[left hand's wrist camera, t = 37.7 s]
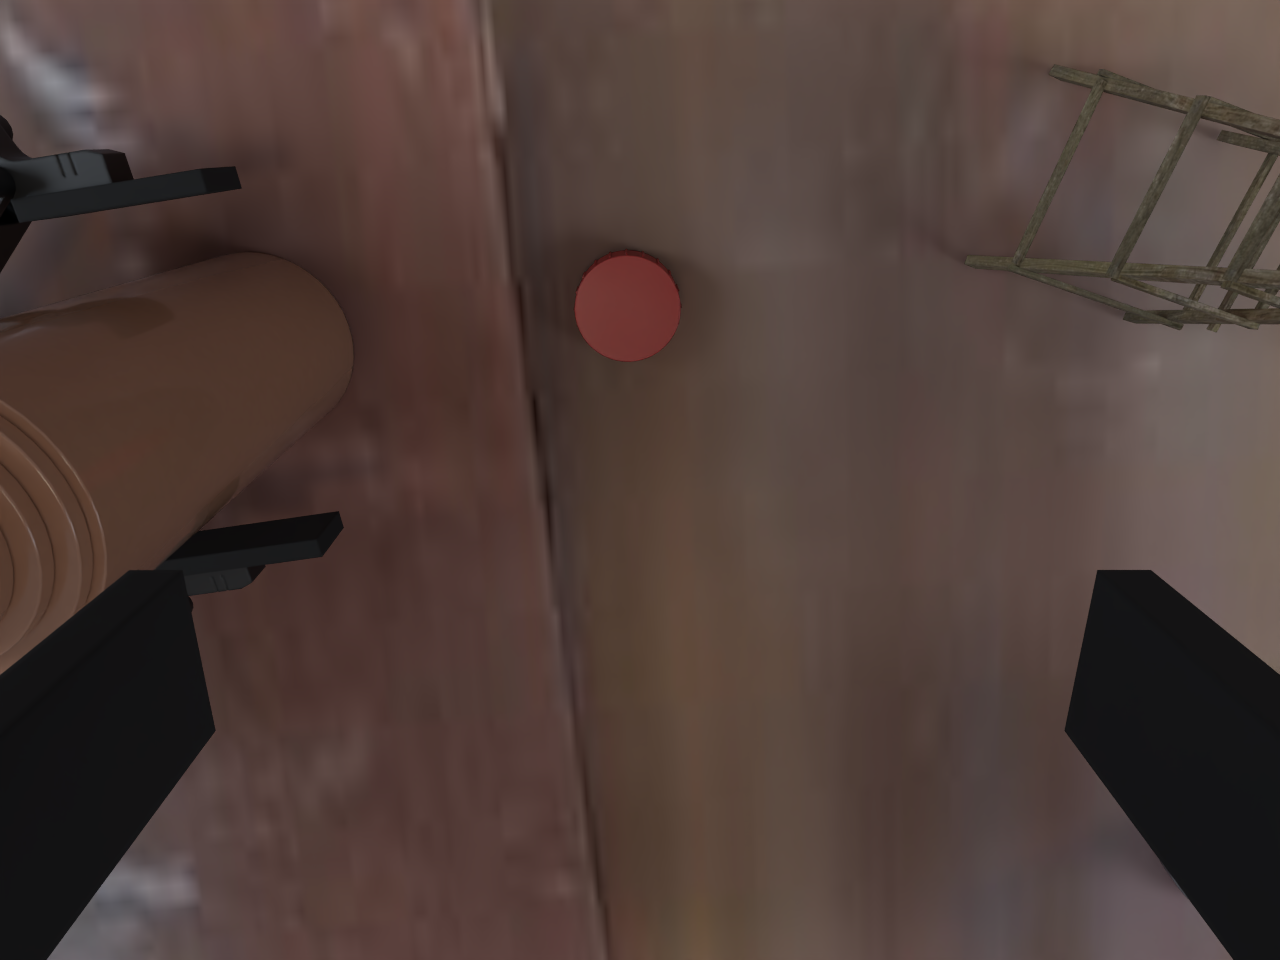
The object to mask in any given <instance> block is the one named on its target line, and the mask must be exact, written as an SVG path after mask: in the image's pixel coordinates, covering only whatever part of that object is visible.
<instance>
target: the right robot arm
mask: <svg viewBox="0 0 1280 960" xmlns="http://www.w3.org/2000/svg"><path fill="white" fill-rule="evenodd" d="M12 139H13V132H12V128H11V126H10V124H9V123H8V121H7V120H6V119H5V118H3V117H2V116H1V115H0V272H1V271H2V269H3V268H4V266H5V264H6V263H7V261H8V259H9V258H10V256H11V254H12V253H13V251H14V250H15V248H16V246H17V245H18V243H19V241H20V240H21V238H22V236H23V235H24V233H25V232H26V230H27V228H28V227H29V225H30V223H31V222H32V221H37V220H44V219H52V218H59V217H66V216H73V215H79V214H85V213H92V212H98V211H104V210H110V209H117V208H123V207H129V206H135V205H141V204H148V203H154V202H160V201H166V200H173V199H179V198H185V197H191V196H198V195H204V194H210V193H216V192H223V191H229V190H235V189H241V184H240V181H239V178H238V174H237V171H236V168H235V167H220V168H205V169H196V170H190V171H184V172H178V173H171V174H165V175H159V176H153V177H147V178H140V179H133V176H132V173H131V170H130V167H129V164H128V161H127V159H126V156H125V153H122V152H117V151H113V150H109V149H104V150H81V151H75V152H70V153H63V154H57V155H50V156H44V157H38V158H30V157H28V156H27V155H25V154H24V153H23V152H22V151H21V150H20V149H19V148H18V147H17V146H16V144H15V143H14V142H13V140H12ZM343 528H344V527H343V524H342V521H341V517H340V514H339V511H337V512H330V513H323V514H316V515H309V516H302V517H295V518H288V519H281V520H274V521H267V522H260V523H253V524H246V525H239V526H232V527H225V528H218V529H211V530H204V531H197V532H196V533H195V534H194V535H193V536H192V537H191V538H189V539H188V540H187V541H186V542H185V543H184V544H183V545H182V546H181V547H179V548H178V549H177V550H176V551H175V552H174V553H173V554H172V555H171V556H169V557H168V558H167V559H166V560H165V561H164V562H163V563H162V564H161V565H160V566H158V567H157V568H156V569H155V570H183V575H184V580H185V584H186V589H187V594H188V596H191V595H199V594H206V593H213V592H217V591H219V592H220V591H226V590H234V589H241V588H243V587H245V586H247V585H248V584H250V583H252V582H253V581H254V579H255V578H256V577H257V576H258V575H259V574H260V572H261V571H262V570H263V569H264V568H265V567H266V566H265V565H266V564H274V563H281V562H288V561H295V560H302V559H309V558H316V557H322V556H323V555H324V554H325V552H326V551H327V550H328V548H329V547H330V545H331V544H332V543H333V541H334V540H335V539H336V537H337V536H338V535H339V533H340V532H341V531H342V529H343ZM188 599H189V604H190V609H191V612H192V610H193V602H192V600H191V599H190V598H189V597H188Z"/></svg>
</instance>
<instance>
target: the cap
mask: <svg viewBox="0 0 1280 960" xmlns="http://www.w3.org/2000/svg"><path fill="white" fill-rule="evenodd" d="M678 291H679V289H678V286H677V284H676V285H675V282H674V280H673V278H672V275H671V272H670V270H667V269H666V268H665V266H664V265H663V264H662V263H660V262H659V259H658V258H657V259H655V258H654V257H652V256H650V255H648V254H645V253H644V251H642V252H638V251H632V250H627V249H625V250H624V251H617V252H613V253H611V252H609V254H607V255H605V256H603V257H602V258H600V259H599V260H595V261H594V264H593V265H591V266H590V268H589V269H588V270H587V271H586V272H584V274H583V276H582V280H581V282H580V285H579V287H577V289H576V299H575V306H574V310H575V318H576V322H577V327H578V328H579V331H580V333H581V334H582V336H583V338H584V339H585V341H586V342H587V343H588V344H589V345H590V346H591V347H592V348H593V349H594V350H595V351H597V352H598V353H600V354H601V355H603V356H605V357H607V358H610V359H613V360H617V361H624V362H631V361H639V360H643V359H646V358H648V357H650V356H652V355H654V354H656V353H657V352H659V351H660V350H661V349H663V348H664V347H665V346H666V345H667V344H668V342H669V341H670V340H671V338H672V337H673V335H674V333H675V331H676V329H677V326H678V324H679V319H680V311H681V308H682V306H681V303H680V298H679V294H678Z"/></svg>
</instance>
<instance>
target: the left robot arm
mask: <svg viewBox="0 0 1280 960" xmlns="http://www.w3.org/2000/svg"><path fill="white" fill-rule="evenodd" d="M214 732H215V726H214V721H213V716H212V711H211V706H210V702H209V697H208V692H207V687H206V682H205V677H204V672H203V667H202V662H201V658H200V653H199V648H198V643H197V638H196V633H195V628H194V623H193V619H192V614H191V609H190V604H189V599H188V594H187V589H186V584H185V580H184V575H183V570H129V571H127V572H126V573H125V574H124V575H123V576H121V577H120V578H119V579H118V580H116V581H115V582H114V583H113V584H111V585H110V586H109V587H108V588H107V589H105V590H104V591H103V592H102V593H100V594H99V595H98V596H97V597H95V598H94V599H93V600H92V601H91V602H89V603H88V604H87V605H86V606H84V607H83V608H82V609H81V610H79V611H78V612H77V613H76V614H75V615H73V616H72V617H71V618H70V619H68V620H67V621H66V622H65V623H63V624H62V625H61V626H60V627H59V628H57V629H56V630H55V631H54V632H52V633H51V634H50V635H49V636H47V637H46V638H45V639H44V640H43V641H41V642H40V643H39V644H38V645H36V646H35V647H34V648H33V649H31V650H30V651H29V652H28V653H27V654H25V655H24V656H23V657H22V658H20V659H19V660H18V661H17V662H15V663H14V664H13V665H12V666H10V667H9V668H8V669H7V670H6V671H4V672H3V673H2V674H1V675H0V960H47V958H48V957H49V956H50V954H51V953H52V952H53V950H54V949H55V948H56V946H57V945H58V943H59V942H60V941H61V939H62V938H63V937H64V935H65V934H66V933H67V931H68V930H69V929H70V927H71V926H72V924H73V923H74V922H75V920H76V919H77V918H78V916H79V915H80V914H81V912H82V911H83V910H84V908H85V907H86V905H87V904H88V903H89V901H90V900H91V899H92V897H93V896H94V895H95V893H96V892H97V891H98V889H99V888H100V887H101V885H102V884H103V882H104V881H105V880H106V878H107V877H108V876H109V874H110V873H111V872H112V870H113V869H114V868H115V866H116V865H117V863H118V862H119V861H120V859H121V858H122V857H123V855H124V854H125V853H126V851H127V850H128V849H129V847H130V846H131V844H132V843H133V842H134V840H135V839H136V838H137V836H138V835H139V834H140V832H141V831H142V830H143V828H144V827H145V826H146V824H147V823H148V821H149V820H150V819H151V817H152V816H153V815H154V813H155V812H156V811H157V809H158V808H159V807H160V805H161V804H162V802H163V801H164V800H165V798H166V797H167V796H168V794H169V793H170V792H171V790H172V789H173V788H174V786H175V785H176V783H177V782H178V781H179V779H180V778H181V777H182V775H183V774H184V773H185V771H186V770H187V769H188V767H189V766H190V765H191V763H192V762H193V760H194V759H195V758H196V756H197V755H198V754H199V752H200V751H201V750H202V748H203V747H204V746H205V744H206V743H207V741H208V740H209V739H210V737H211V736H212V735H213V733H214ZM1065 732H1066V733H1067V735H1068V736H1069V737H1070V739H1071V740H1072V741H1073V743H1074V744H1075V746H1076V747H1077V748H1078V750H1079V751H1080V752H1081V754H1082V755H1083V756H1084V758H1085V759H1086V760H1087V762H1088V763H1089V765H1090V766H1091V767H1092V769H1093V770H1094V771H1095V773H1096V774H1097V775H1098V777H1099V778H1100V779H1101V781H1102V782H1103V783H1104V785H1105V786H1106V788H1107V789H1108V790H1109V792H1110V793H1111V794H1112V796H1113V797H1114V798H1115V800H1116V801H1117V802H1118V804H1119V805H1120V807H1121V808H1122V809H1123V811H1124V812H1125V813H1126V815H1127V816H1128V817H1129V819H1130V820H1131V821H1132V823H1133V824H1134V826H1135V827H1136V828H1137V830H1138V831H1139V832H1140V834H1141V835H1142V836H1143V838H1144V839H1145V840H1146V842H1147V843H1148V844H1149V846H1150V847H1151V849H1152V850H1153V851H1154V853H1155V854H1156V855H1157V857H1158V858H1159V859H1160V862H1161V863H1162V865H1163V867H1164V868H1165V870H1166V871H1167V873H1168V874H1169V876H1170V877H1171V878H1172V880H1173V881H1174V882H1175V884H1176V885H1177V886H1178V888H1179V889H1180V890H1181V891H1182V893H1183V894H1184V895H1185V896H1186V897H1187V898H1188V899H1189V900H1190V901H1191V903H1192V904H1193V905H1194V907H1195V908H1196V910H1197V911H1198V912H1199V914H1200V915H1201V916H1202V918H1203V919H1204V920H1205V922H1206V923H1207V924H1208V926H1209V927H1210V929H1211V930H1212V931H1213V933H1214V934H1215V935H1216V937H1217V938H1218V939H1219V941H1220V942H1221V943H1222V945H1223V946H1224V948H1225V949H1226V950H1227V952H1228V953H1229V954H1230V956H1231V957H1232V958H1233V960H1280V675H1279V674H1278V673H1277V672H1276V671H1274V670H1273V669H1272V668H1271V667H1269V666H1268V665H1267V664H1266V663H1265V662H1263V661H1262V660H1261V659H1260V658H1258V657H1257V656H1256V655H1255V654H1253V653H1252V652H1251V651H1250V650H1249V649H1247V648H1246V647H1245V646H1244V645H1242V644H1241V643H1240V642H1239V641H1237V640H1236V639H1235V638H1234V637H1233V636H1231V635H1230V634H1229V633H1228V632H1226V631H1225V630H1224V629H1223V628H1221V627H1220V626H1219V625H1218V624H1217V623H1215V622H1214V621H1213V620H1212V619H1210V618H1209V617H1208V616H1207V615H1205V614H1204V613H1203V612H1202V611H1201V610H1199V609H1198V608H1197V607H1196V606H1194V605H1193V604H1192V603H1191V602H1189V601H1188V600H1187V599H1186V598H1185V597H1183V596H1182V595H1181V594H1180V593H1178V592H1177V591H1176V590H1175V589H1173V588H1172V587H1171V586H1170V585H1169V584H1167V583H1166V582H1165V581H1164V580H1162V579H1161V578H1160V577H1159V576H1157V575H1156V574H1155V573H1154V572H1153V571H1151V570H1097V575H1096V580H1095V584H1094V589H1093V594H1092V599H1091V604H1090V609H1089V614H1088V619H1087V623H1086V628H1085V633H1084V638H1083V643H1082V648H1081V653H1080V658H1079V662H1078V667H1077V672H1076V677H1075V682H1074V687H1073V692H1072V697H1071V702H1070V706H1069V711H1068V716H1067V721H1066V726H1065Z"/></svg>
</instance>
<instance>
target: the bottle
mask: <svg viewBox="0 0 1280 960" xmlns="http://www.w3.org/2000/svg"><path fill="white" fill-rule="evenodd" d="M353 361H354V352H353V342H352V336H351V332H350V329H349V326H348V323H347V320H346V318H345V316H344V314H343V312H342V310H341V308H340V306H339V305H338V303H337V301H336V300H335V299H334V297H333V296H332V295H331V293H330V292H329V291H328V290H327V289H326V288H325V287H324V286H323V285H322V284H321V283H320V282H319V281H318V280H317V279H316V278H315V277H313V276H312V275H311V274H310V273H308V272H307V271H305V270H304V269H302V268H301V267H299V266H297V265H295V264H293V263H291V262H289V261H287V260H285V259H282V258H279V257H276V256H273V255H268V254H264V253H255V252H237V253H232V254H226V255H222V256H219V257H215V258H212V259H208V260H205V261H201V262H198V263H194V264H191V265H187V266H183V267H180V268H176V269H173V270H169V271H166V272H162V273H159V274H155V275H152V276H148V277H145V278H141V279H138V280H134V281H131V282H127V283H123V284H120V285H116V286H113V287H109V288H106V289H102V290H99V291H95V292H92V293H88V294H85V295H81V296H78V297H74V298H70V299H67V300H63V301H60V302H56V303H53V304H49V305H46V306H42V307H39V308H35V309H32V310H28V311H25V312H21V313H18V314H14V315H10V316H7V317H3V318H0V675H1V674H2V673H3V672H4V671H6V670H7V669H8V668H9V667H10V666H12V665H13V664H14V663H15V662H17V661H18V660H19V659H20V658H22V657H23V656H24V655H25V654H27V653H28V652H29V651H30V650H31V649H33V648H34V647H35V646H36V645H38V644H39V643H40V642H41V641H43V640H44V639H45V638H46V637H47V636H49V635H50V634H51V633H52V632H54V631H55V630H56V629H57V628H59V627H60V626H61V625H62V624H63V623H65V622H66V621H67V620H68V619H70V618H71V617H72V616H73V615H75V614H76V613H77V612H78V611H79V610H81V609H82V608H83V607H84V606H86V605H87V604H88V603H89V602H91V601H92V600H93V599H94V598H95V597H97V596H98V595H99V594H100V593H102V592H103V591H104V590H105V589H107V588H108V587H109V586H110V585H111V584H113V583H114V582H115V581H116V580H118V579H119V578H120V577H121V576H123V575H124V574H125V573H126V572H127V571H129V570H155V569H156V568H157V567H158V566H160V565H161V564H162V563H163V562H164V561H165V560H166V559H167V558H168V557H169V556H171V555H172V554H173V553H174V552H175V551H176V550H177V549H178V548H179V547H181V546H182V545H183V544H184V543H185V542H186V541H187V540H188V539H189V538H191V537H192V536H193V535H194V534H195V533H196V532H197V531H198V530H199V529H200V528H202V527H203V526H204V525H205V524H206V523H207V522H208V521H209V520H210V519H212V518H213V517H214V516H215V515H216V514H217V513H218V512H219V511H220V510H221V509H223V508H224V507H225V506H226V505H227V504H228V503H229V502H230V501H231V500H233V499H234V498H235V497H236V496H237V495H238V494H239V493H240V492H241V491H242V490H244V489H245V488H246V487H247V486H248V485H249V484H250V483H251V482H252V481H254V480H255V479H256V478H257V477H258V476H259V475H260V474H261V473H262V472H263V471H265V470H266V469H267V468H268V467H269V466H270V465H271V464H272V463H273V462H275V461H276V460H277V459H278V458H279V457H280V456H281V455H282V454H283V453H284V452H286V451H287V450H288V449H289V448H290V447H291V446H292V445H293V444H294V443H296V442H297V441H298V440H299V439H300V438H301V437H302V436H303V435H304V434H305V433H307V432H308V431H309V430H310V429H311V428H312V427H313V426H314V425H315V424H317V423H318V422H319V421H320V420H321V419H322V418H323V417H324V416H325V415H326V414H328V413H329V412H330V411H331V410H332V409H333V408H334V407H335V406H336V404H337V403H338V402H339V401H340V399H341V398H342V396H343V394H344V393H345V391H346V389H347V386H348V384H349V382H350V378H351V374H352V370H353Z"/></svg>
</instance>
